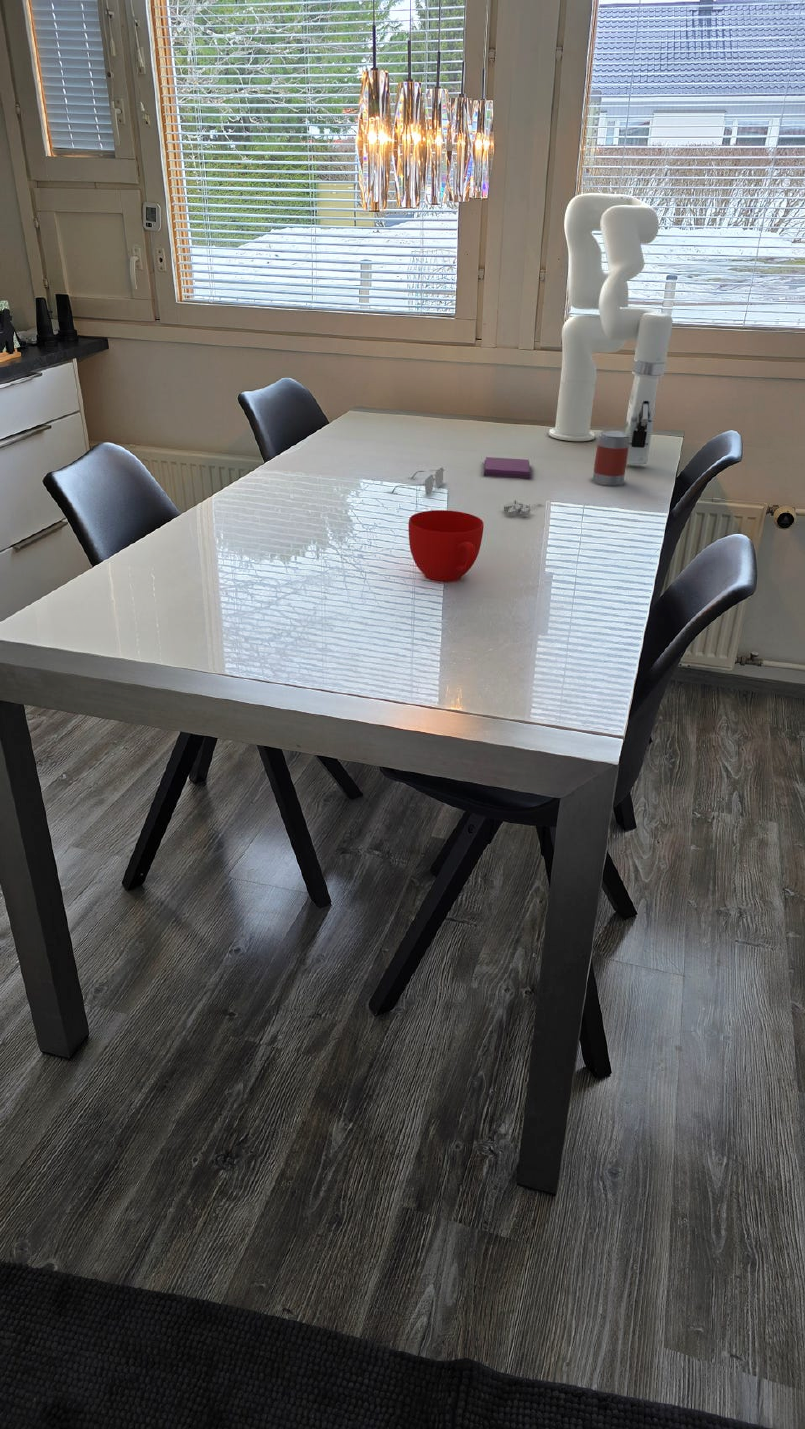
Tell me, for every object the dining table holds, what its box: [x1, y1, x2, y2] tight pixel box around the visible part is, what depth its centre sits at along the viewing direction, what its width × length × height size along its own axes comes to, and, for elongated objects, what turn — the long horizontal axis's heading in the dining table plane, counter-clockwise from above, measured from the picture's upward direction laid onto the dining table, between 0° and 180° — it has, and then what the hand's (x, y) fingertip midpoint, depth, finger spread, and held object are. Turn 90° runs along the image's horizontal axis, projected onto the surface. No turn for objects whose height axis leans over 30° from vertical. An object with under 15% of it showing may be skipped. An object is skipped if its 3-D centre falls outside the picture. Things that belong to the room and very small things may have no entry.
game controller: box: [503, 499, 541, 518], centre depth 213 cm, size 6×12×3 cm, turn 158°
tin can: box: [592, 430, 630, 487], centre depth 235 cm, size 7×7×11 cm
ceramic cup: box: [408, 509, 485, 583], centre depth 173 cm, size 13×17×10 cm
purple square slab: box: [483, 456, 531, 480], centre depth 242 cm, size 12×11×2 cm
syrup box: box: [624, 400, 656, 465], centre depth 248 cm, size 6×6×14 cm
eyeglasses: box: [391, 467, 445, 496], centre depth 226 cm, size 14×8×4 cm, turn 160°
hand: (636, 442), depth 249 cm, fingers closed on syrup box, 6 cm apart
